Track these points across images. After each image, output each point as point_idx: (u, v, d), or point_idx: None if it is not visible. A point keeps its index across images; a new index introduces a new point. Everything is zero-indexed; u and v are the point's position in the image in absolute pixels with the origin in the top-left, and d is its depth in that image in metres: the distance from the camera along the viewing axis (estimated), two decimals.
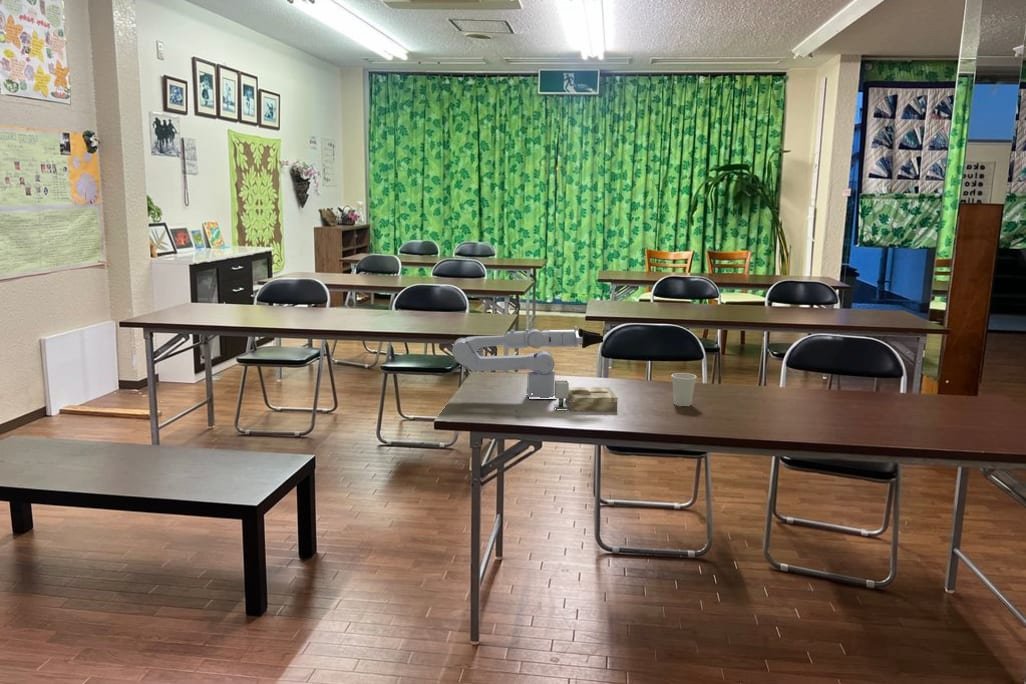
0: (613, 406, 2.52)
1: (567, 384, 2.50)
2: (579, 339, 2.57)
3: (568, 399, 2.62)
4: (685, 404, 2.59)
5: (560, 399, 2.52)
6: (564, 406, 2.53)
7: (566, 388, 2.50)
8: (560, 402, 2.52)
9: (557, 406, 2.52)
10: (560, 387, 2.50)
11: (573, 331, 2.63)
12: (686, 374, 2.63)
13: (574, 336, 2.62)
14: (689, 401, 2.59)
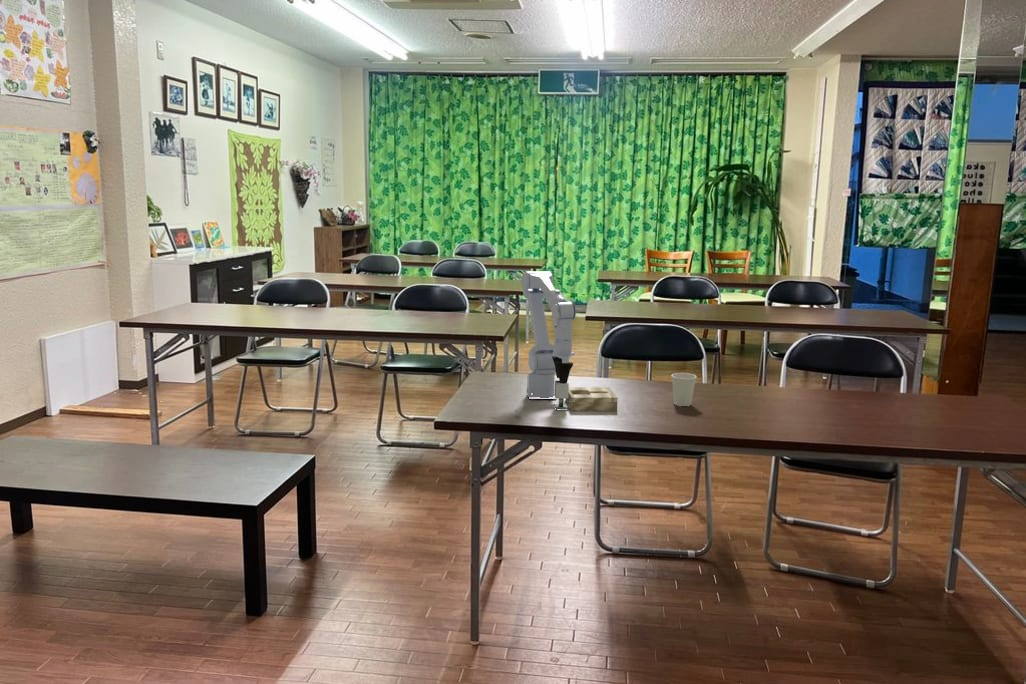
0: (613, 406, 2.52)
1: (567, 384, 2.50)
2: (566, 359, 2.43)
3: (568, 399, 2.62)
4: (685, 404, 2.59)
5: (560, 399, 2.52)
6: (564, 406, 2.53)
7: (566, 388, 2.50)
8: (560, 402, 2.52)
9: (557, 406, 2.52)
10: (560, 387, 2.50)
11: (570, 351, 2.49)
12: (686, 374, 2.63)
13: (566, 353, 2.48)
14: (689, 401, 2.59)
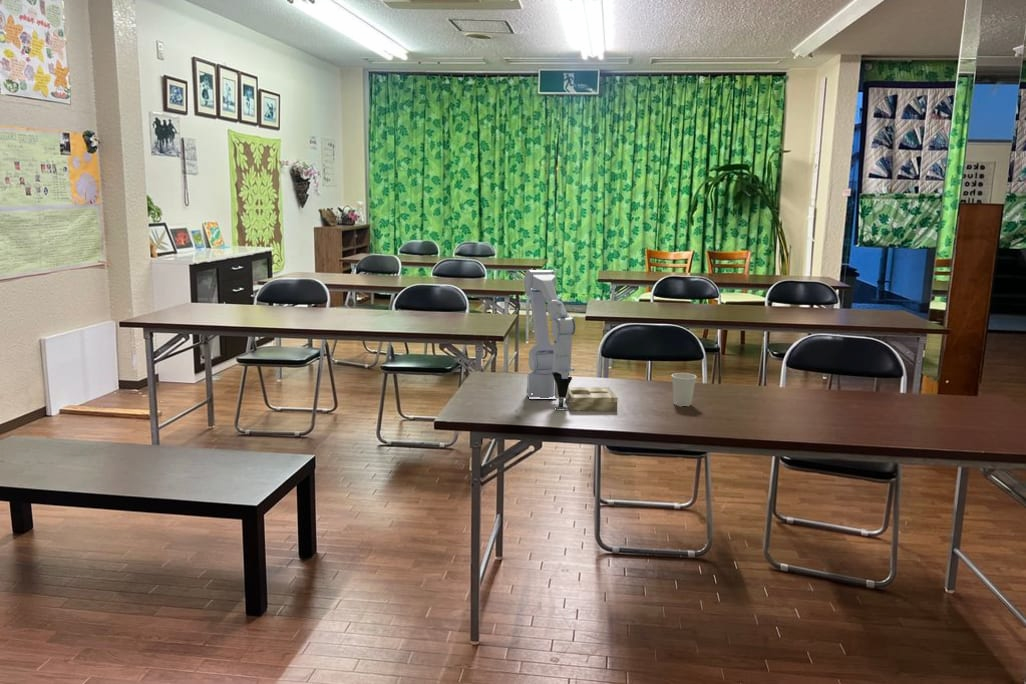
0: (613, 406, 2.52)
1: None
2: (566, 375, 2.44)
3: (568, 399, 2.62)
4: (685, 404, 2.59)
5: (560, 399, 2.52)
6: (564, 406, 2.53)
7: None
8: (560, 402, 2.52)
9: (557, 406, 2.52)
10: None
11: (570, 367, 2.50)
12: (686, 374, 2.63)
13: (566, 368, 2.48)
14: (689, 401, 2.59)
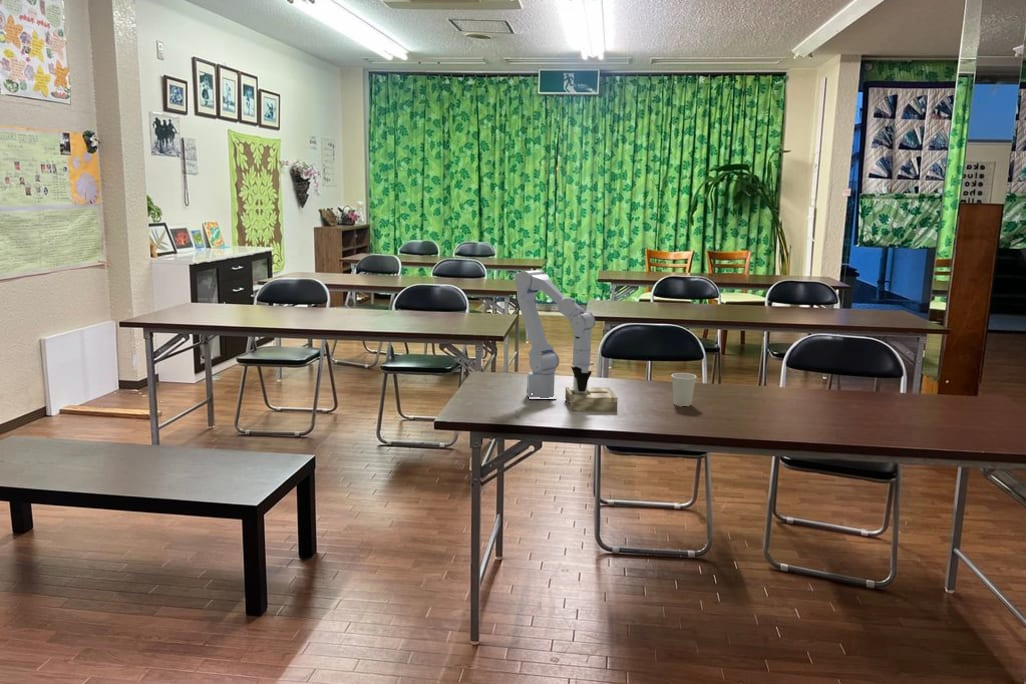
0: (613, 406, 2.52)
1: None
2: (586, 369, 2.48)
3: (568, 399, 2.62)
4: (685, 404, 2.59)
5: (579, 394, 2.57)
6: None
7: None
8: None
9: None
10: None
11: (589, 361, 2.54)
12: (686, 374, 2.63)
13: (585, 363, 2.53)
14: (689, 401, 2.59)
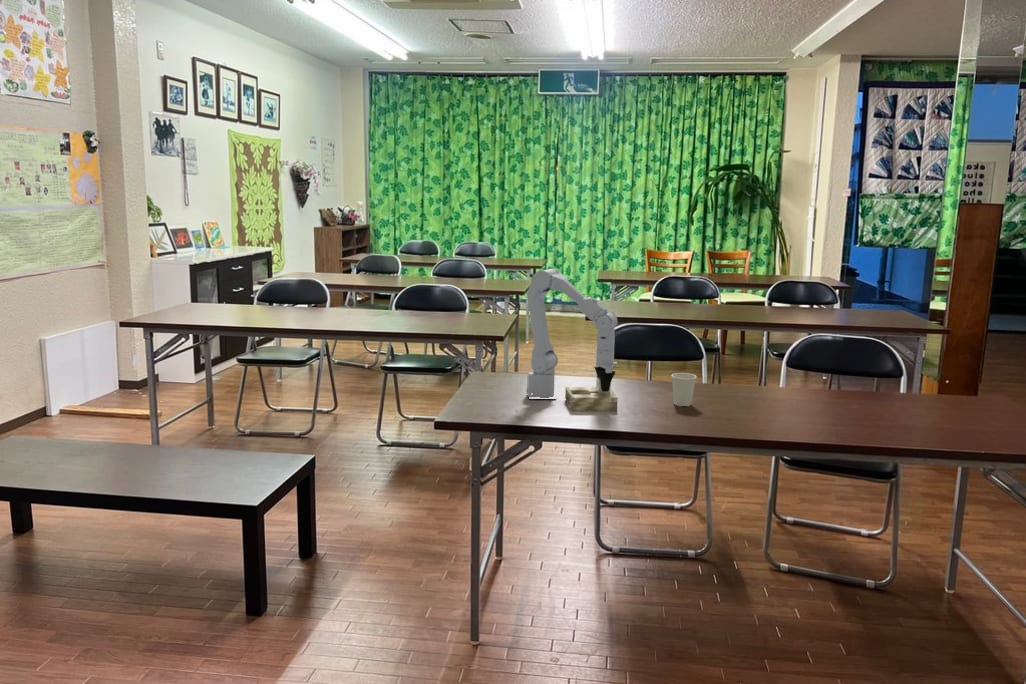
0: (613, 406, 2.52)
1: None
2: (610, 369, 2.49)
3: (568, 399, 2.62)
4: (685, 404, 2.59)
5: None
6: None
7: None
8: None
9: None
10: None
11: (613, 361, 2.55)
12: (686, 374, 2.63)
13: (609, 363, 2.53)
14: (689, 401, 2.59)
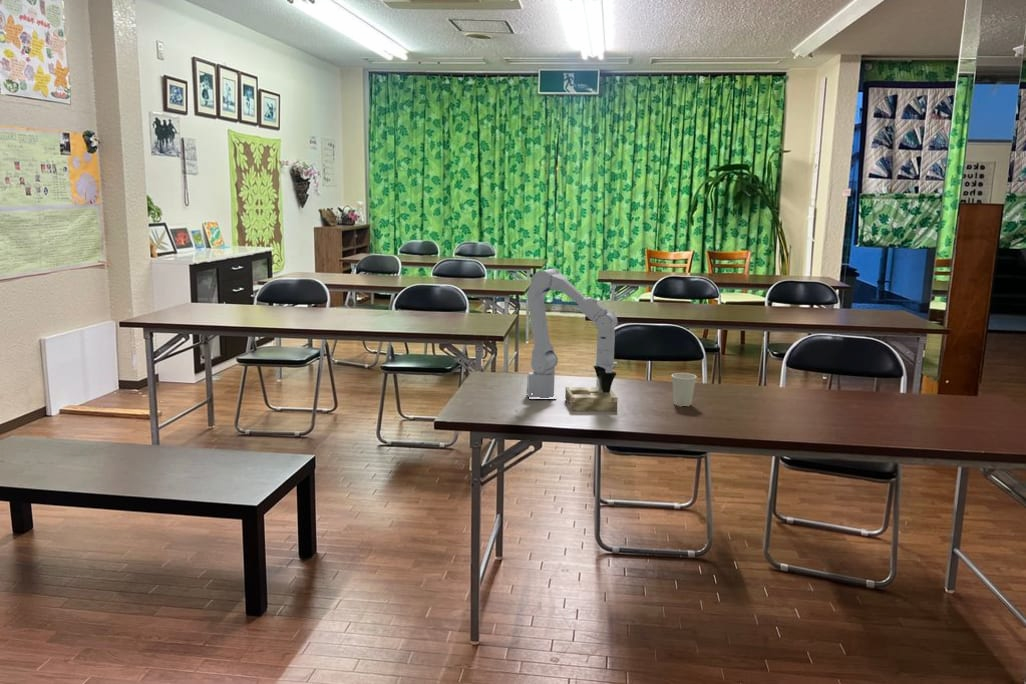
0: (613, 406, 2.52)
1: None
2: (610, 369, 2.49)
3: (568, 399, 2.62)
4: (685, 404, 2.59)
5: None
6: None
7: None
8: None
9: None
10: None
11: (613, 361, 2.55)
12: (686, 374, 2.63)
13: (609, 363, 2.53)
14: (689, 401, 2.59)
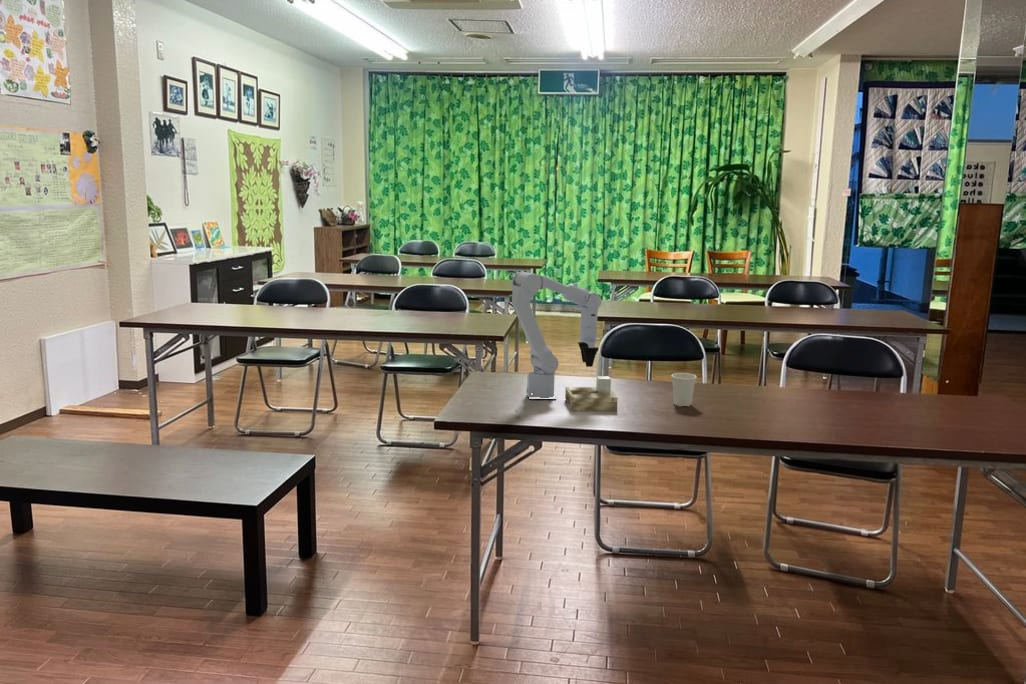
0: (613, 406, 2.52)
1: (609, 380, 2.55)
2: (593, 344, 2.65)
3: (568, 399, 2.62)
4: (685, 404, 2.59)
5: None
6: None
7: (608, 383, 2.55)
8: None
9: None
10: (603, 383, 2.55)
11: (595, 337, 2.70)
12: (686, 374, 2.63)
13: (592, 338, 2.69)
14: (689, 401, 2.59)
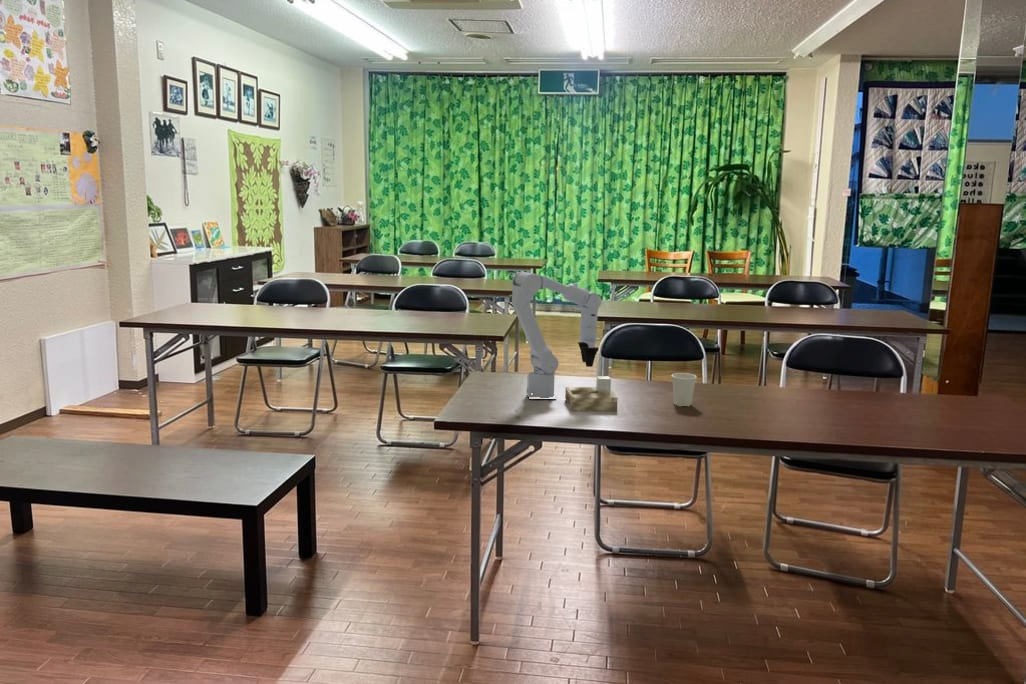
0: (613, 406, 2.52)
1: (609, 380, 2.55)
2: (593, 344, 2.65)
3: (568, 399, 2.62)
4: (685, 404, 2.59)
5: None
6: None
7: (608, 383, 2.55)
8: None
9: None
10: (603, 383, 2.55)
11: (595, 337, 2.70)
12: (686, 374, 2.63)
13: (592, 338, 2.69)
14: (689, 401, 2.59)
